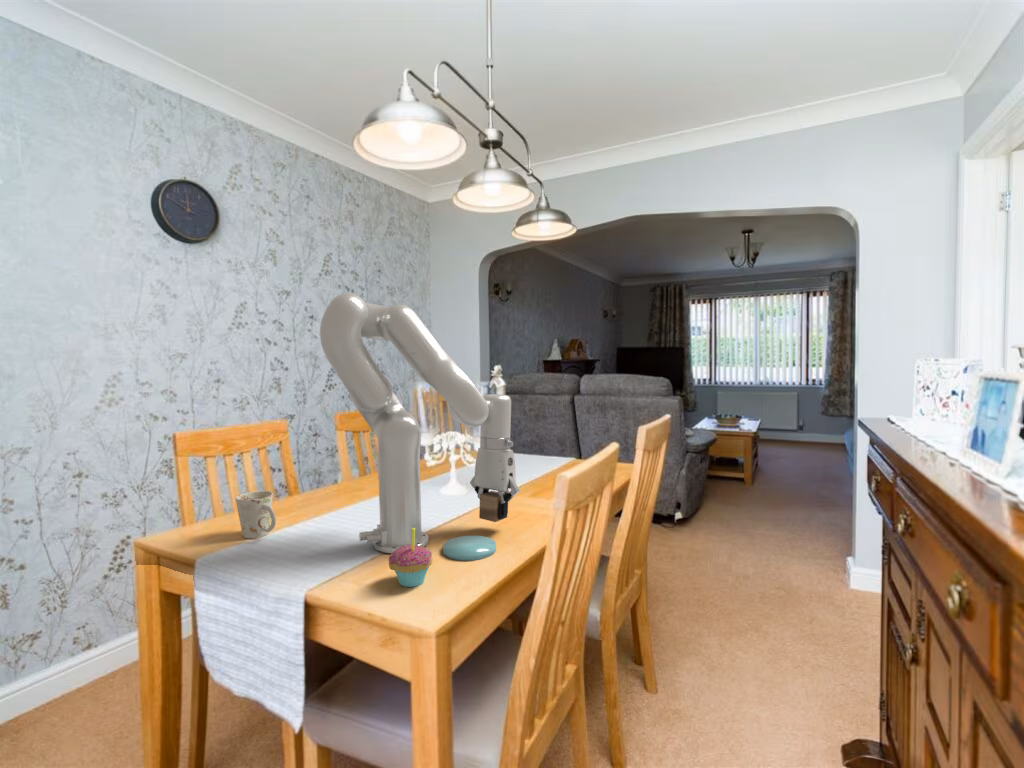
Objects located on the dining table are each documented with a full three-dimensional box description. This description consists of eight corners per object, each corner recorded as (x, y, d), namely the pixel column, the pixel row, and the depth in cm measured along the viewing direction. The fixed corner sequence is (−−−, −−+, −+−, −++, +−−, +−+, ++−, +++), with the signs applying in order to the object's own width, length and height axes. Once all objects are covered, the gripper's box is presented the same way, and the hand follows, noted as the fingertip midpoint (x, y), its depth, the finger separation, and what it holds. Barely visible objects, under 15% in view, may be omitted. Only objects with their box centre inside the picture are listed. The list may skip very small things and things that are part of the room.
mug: (261, 526, 135) (259, 489, 134) (292, 534, 128) (290, 495, 128) (230, 536, 128) (228, 497, 127) (261, 545, 121) (259, 504, 121)
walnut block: (495, 522, 125) (496, 497, 125) (479, 518, 128) (479, 494, 128) (507, 517, 129) (507, 493, 129) (491, 513, 132) (491, 490, 132)
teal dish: (453, 564, 109) (452, 559, 108) (436, 545, 119) (436, 540, 119) (504, 554, 114) (504, 549, 114) (484, 537, 125) (483, 532, 124)
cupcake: (440, 583, 100) (439, 523, 99) (399, 596, 95) (397, 532, 94) (421, 569, 107) (419, 512, 106) (382, 580, 102) (380, 520, 101)
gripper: (531, 445, 126) (529, 518, 127) (477, 438, 136) (476, 506, 137) (514, 449, 120) (512, 526, 121) (459, 441, 130) (457, 512, 130)
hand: (493, 514), depth 129 cm, fingers closed on walnut block, 5 cm apart
